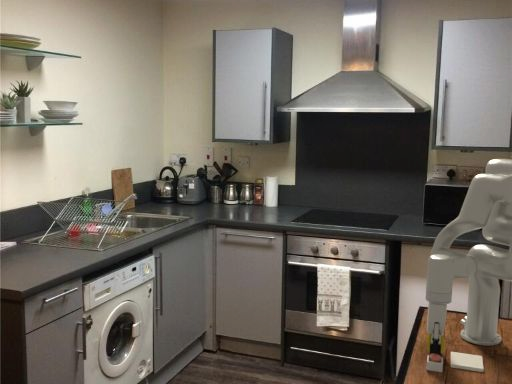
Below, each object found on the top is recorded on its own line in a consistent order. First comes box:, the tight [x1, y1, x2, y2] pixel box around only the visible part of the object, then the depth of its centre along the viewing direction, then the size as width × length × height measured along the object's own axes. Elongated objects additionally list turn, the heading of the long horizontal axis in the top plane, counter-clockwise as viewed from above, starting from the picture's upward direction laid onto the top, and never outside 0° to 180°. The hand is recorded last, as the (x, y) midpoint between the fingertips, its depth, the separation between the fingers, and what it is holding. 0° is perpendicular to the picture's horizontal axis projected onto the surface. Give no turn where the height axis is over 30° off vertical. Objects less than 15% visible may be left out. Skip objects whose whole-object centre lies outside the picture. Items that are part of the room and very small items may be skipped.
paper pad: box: [450, 351, 484, 373], centre depth 168 cm, size 9×9×1 cm
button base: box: [426, 354, 444, 373], centre depth 165 cm, size 4×4×3 cm
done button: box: [430, 354, 441, 363], centre depth 165 cm, size 3×3×2 cm
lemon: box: [425, 331, 446, 353], centre depth 173 cm, size 6×6×8 cm
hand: (435, 351), depth 173 cm, fingers closed on lemon, 5 cm apart
